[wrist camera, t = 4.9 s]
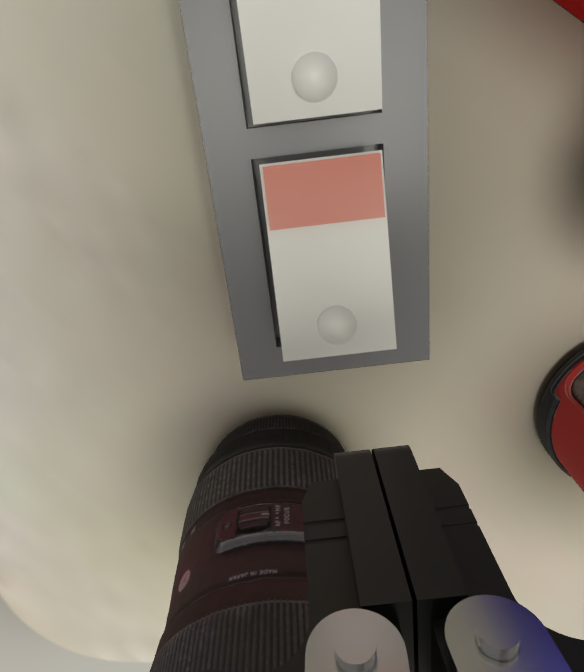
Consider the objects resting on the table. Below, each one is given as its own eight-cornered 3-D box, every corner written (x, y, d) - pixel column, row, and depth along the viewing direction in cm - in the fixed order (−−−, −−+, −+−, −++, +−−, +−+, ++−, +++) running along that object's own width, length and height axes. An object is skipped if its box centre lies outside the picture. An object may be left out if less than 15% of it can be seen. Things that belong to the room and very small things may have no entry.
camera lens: (162, 487, 26) (34, 924, 12) (260, 369, 23) (239, 749, 10) (293, 560, 28) (311, 999, 14) (396, 458, 25) (536, 873, 12)
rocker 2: (262, 169, 17) (258, 163, 15) (372, 156, 17) (383, 148, 15) (283, 347, 19) (283, 364, 16) (386, 336, 18) (398, 351, 16)
